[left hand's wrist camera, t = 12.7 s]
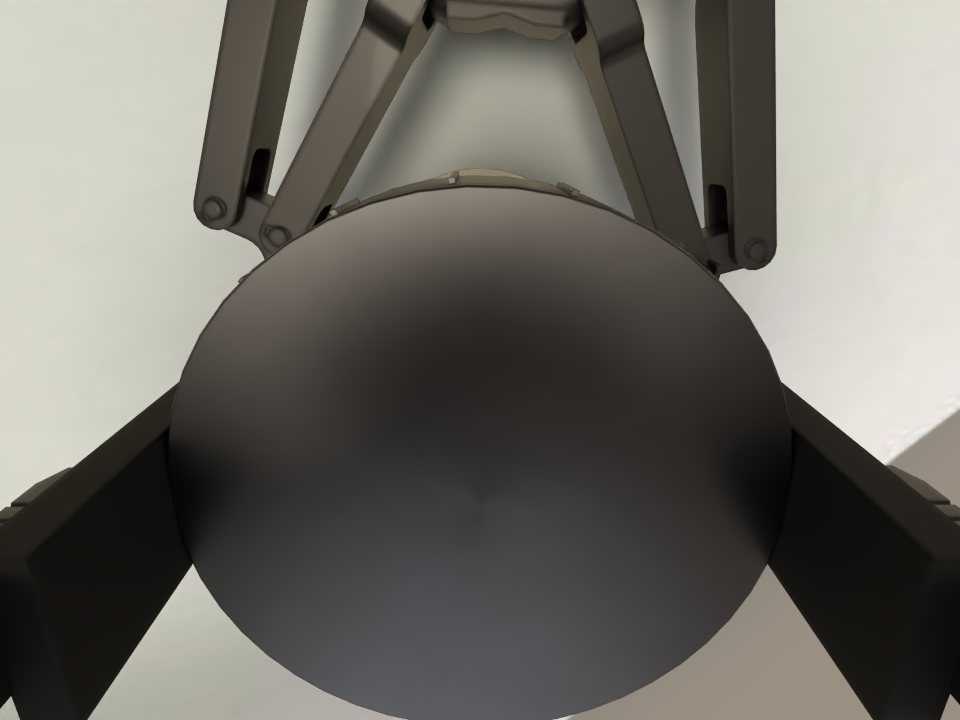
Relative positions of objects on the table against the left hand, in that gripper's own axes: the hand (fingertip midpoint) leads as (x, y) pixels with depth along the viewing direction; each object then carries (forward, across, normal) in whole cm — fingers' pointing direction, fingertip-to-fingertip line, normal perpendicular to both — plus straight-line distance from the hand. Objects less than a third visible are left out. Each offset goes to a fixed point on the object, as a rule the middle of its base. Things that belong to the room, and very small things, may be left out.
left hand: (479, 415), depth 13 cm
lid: (-3, 0, 0) cm, 3 cm away
